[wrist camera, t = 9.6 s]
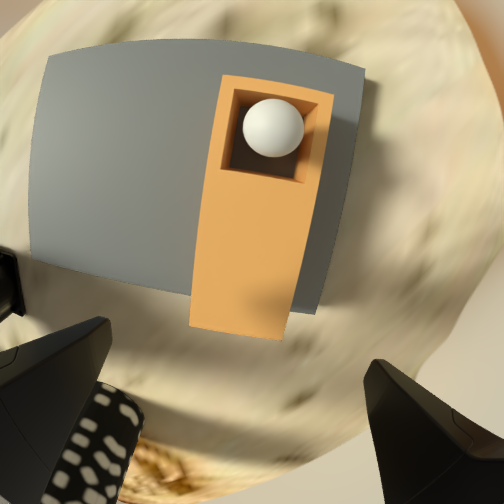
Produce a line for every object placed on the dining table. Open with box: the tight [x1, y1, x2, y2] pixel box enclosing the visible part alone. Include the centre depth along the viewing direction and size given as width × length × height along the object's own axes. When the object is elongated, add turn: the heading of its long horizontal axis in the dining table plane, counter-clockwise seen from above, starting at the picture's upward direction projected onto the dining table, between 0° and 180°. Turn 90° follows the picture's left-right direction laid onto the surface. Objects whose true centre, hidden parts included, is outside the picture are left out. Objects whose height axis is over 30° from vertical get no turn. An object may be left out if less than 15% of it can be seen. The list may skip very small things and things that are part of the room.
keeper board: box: [28, 39, 365, 315], centre depth 12 cm, size 16×22×9 cm
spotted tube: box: [9, 381, 145, 504], centre depth 15 cm, size 8×8×20 cm
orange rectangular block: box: [189, 75, 334, 341], centre depth 14 cm, size 12×5×4 cm, turn 170°
